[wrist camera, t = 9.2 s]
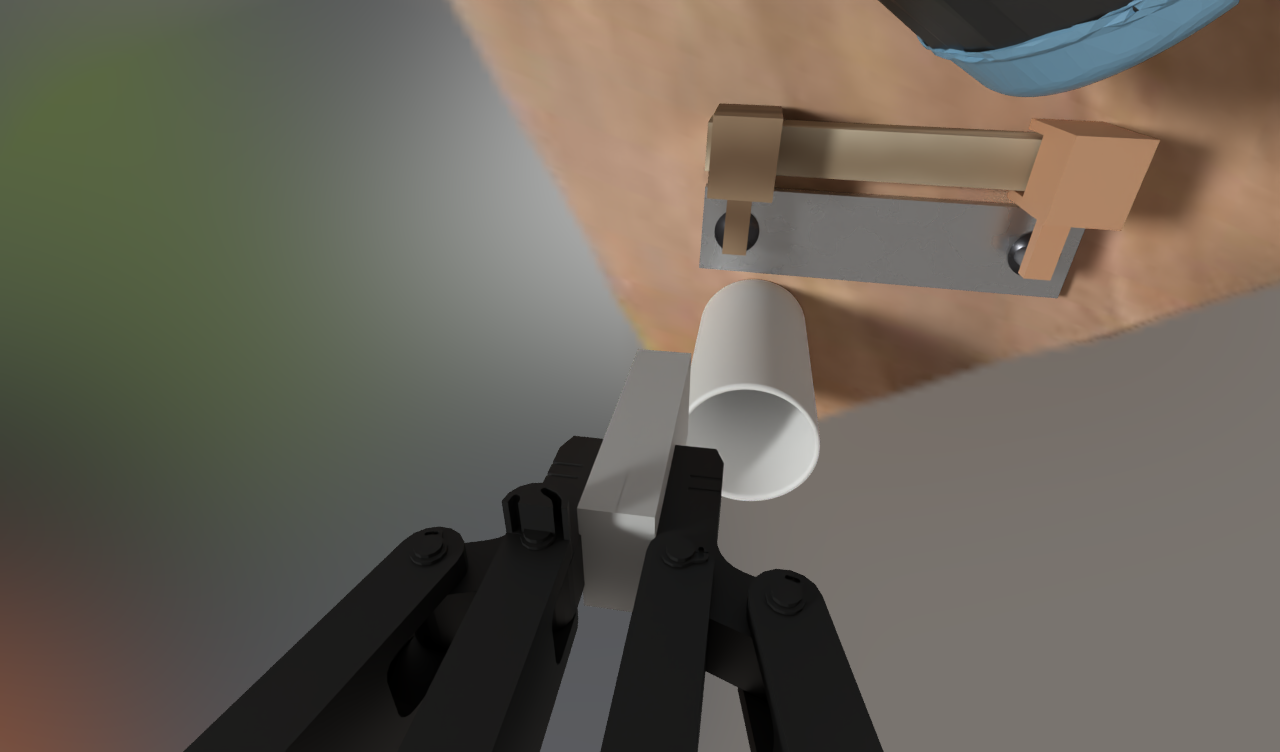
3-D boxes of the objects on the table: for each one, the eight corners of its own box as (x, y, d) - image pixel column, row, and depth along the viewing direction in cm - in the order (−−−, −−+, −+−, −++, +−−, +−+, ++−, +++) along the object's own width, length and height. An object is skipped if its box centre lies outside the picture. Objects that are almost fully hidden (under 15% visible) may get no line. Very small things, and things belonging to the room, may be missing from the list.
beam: (711, 115, 42) (708, 122, 39) (1113, 136, 38) (1137, 144, 36) (708, 161, 43) (704, 170, 41) (1093, 185, 40) (1116, 196, 37)
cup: (814, 285, 47) (834, 396, 33) (795, 378, 51) (805, 511, 37) (706, 273, 48) (682, 376, 34) (696, 365, 52) (670, 490, 38)
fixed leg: (719, 103, 41) (713, 115, 36) (781, 106, 40) (783, 118, 35) (708, 236, 45) (701, 262, 40) (763, 241, 45) (763, 268, 40)
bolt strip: (706, 183, 44) (705, 187, 43) (1084, 208, 41) (1092, 213, 40) (700, 263, 47) (699, 268, 46) (1051, 292, 44) (1058, 299, 43)
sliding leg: (1032, 118, 38) (1076, 135, 32) (1102, 121, 37) (1160, 140, 32) (986, 258, 43) (1019, 294, 37) (1049, 263, 42) (1091, 300, 37)
